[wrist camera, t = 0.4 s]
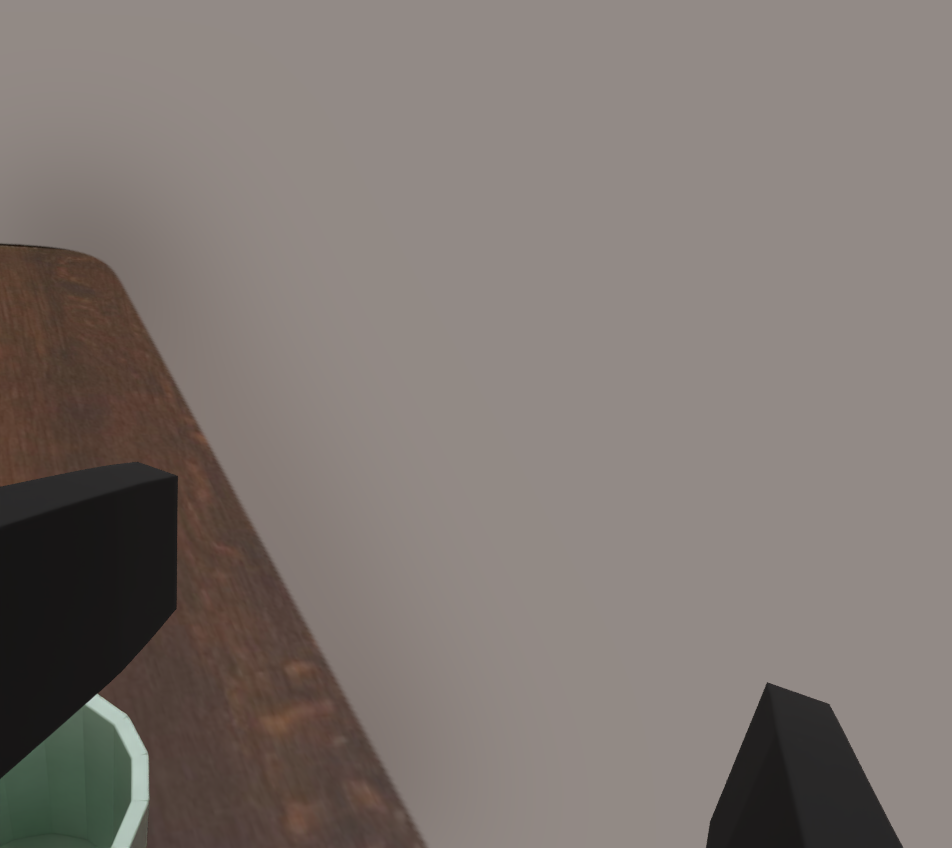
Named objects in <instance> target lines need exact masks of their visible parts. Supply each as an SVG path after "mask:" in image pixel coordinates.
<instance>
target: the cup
mask: <svg viewBox="0 0 952 848" xmlns="http://www.w3.org/2000/svg"><path fill="white" fill-rule="evenodd" d="M148 814H149V755H148V752H147V750H146V748H145V746H144V744H143V742H142V740H141V738H140V736H139V735H138V733H137V731H136V729H135V727H134V725H133V723H132V721H131V719H130V718H129V717H128V716H127V715H126V714H125V713H124V712H122V711H121V710H119V709H118V708H117V707H115V706H114V705H112V704H111V703H109V702H108V701H107V700H105V699H104V698H102V697H101V696H99V695H98V694H96V695H95V696H94V697H93V698H92V699H91V700H90V701H88V702H87V703H86V704H85V705H84V706H83V707H82V708H81V709H80V710H78V711H77V712H76V713H75V714H74V715H73V716H72V717H71V718H69V719H68V720H67V721H66V722H65V723H64V724H63V725H61V726H60V727H59V728H58V729H57V730H56V731H55V732H53V733H52V734H51V735H50V736H49V737H48V738H47V739H45V740H44V741H43V742H42V743H41V744H40V745H39V746H37V747H36V748H35V749H34V750H33V751H32V752H31V753H29V754H28V755H27V756H26V757H25V758H24V759H23V760H21V761H20V762H19V763H18V764H17V765H16V766H15V767H13V768H12V769H11V770H10V771H9V772H8V773H7V774H5V775H4V776H3V777H2V778H1V779H0V848H147V831H148Z"/></svg>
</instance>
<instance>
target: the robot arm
mask: <svg viewBox="0 0 952 848" xmlns="http://www.w3.org/2000/svg"><path fill="white" fill-rule="evenodd" d="M177 493H178V476H176V475H174V474H171V473H168V472H165V471H162V470H159V469H156V468H154V467H151V466H148V465H145V464H142V463H139V462H132V463H124V464H115V465H109V466H102V467H97V468H91V469H85V470H80V471H75V472H70V473H65V474H60V475H55V476H50V477H45V478H40V479H36V480H31V481H26V482H21V483H17V484H12V485H7V486H2V487H0V779H1V778H2V777H3V776H4V775H5V774H7V773H8V772H9V771H10V770H11V769H12V768H13V767H15V766H16V765H17V764H18V763H19V762H20V761H21V760H23V759H24V758H25V757H26V756H27V755H28V754H29V753H31V752H32V751H33V750H34V749H35V748H36V747H37V746H39V745H40V744H41V743H42V742H43V741H44V740H45V739H47V738H48V737H49V736H50V735H51V734H52V733H53V732H55V731H56V730H57V729H58V728H59V727H60V726H61V725H63V724H64V723H65V722H66V721H67V720H68V719H69V718H71V717H72V716H73V715H74V714H75V713H76V712H77V711H78V710H80V709H81V708H82V707H83V706H84V705H85V704H86V703H87V702H88V701H90V700H91V699H92V698H93V697H94V696H95V695H96V694H97V693H99V692H100V691H101V690H102V689H103V688H104V687H105V686H106V685H107V684H109V683H110V682H111V681H112V680H113V679H114V678H115V677H116V676H117V675H118V674H119V673H121V672H122V670H123V669H124V668H125V667H126V666H127V665H128V664H129V663H130V662H131V661H132V659H133V658H134V657H135V656H136V655H137V654H138V653H139V652H140V651H141V650H142V649H143V647H144V646H145V645H146V644H147V643H148V642H149V641H150V639H151V638H152V637H153V636H154V635H155V634H156V632H157V631H158V630H159V629H160V628H161V626H162V625H163V624H164V623H165V622H166V620H167V619H168V618H169V617H170V616H171V614H172V613H173V612H174V611H175V610H176V600H177ZM706 848H903V846H902V844H901V843H900V841H899V839H898V837H897V835H896V833H895V831H894V829H893V827H892V826H891V824H890V822H889V820H888V818H887V816H886V814H885V812H884V810H883V808H882V806H881V804H880V803H879V801H878V799H877V797H876V795H875V793H874V791H873V789H872V787H871V785H870V783H869V781H868V779H867V777H866V775H865V773H864V771H863V769H862V767H861V765H860V764H859V761H858V759H857V757H856V755H855V753H854V751H853V749H852V747H851V745H850V743H849V741H848V739H847V737H846V735H845V733H844V731H843V729H842V727H841V726H840V724H839V722H838V720H837V718H836V716H835V714H834V712H833V710H832V708H831V707H830V705H829V704H827V703H825V702H822V701H819V700H816V699H813V698H810V697H807V696H805V695H802V694H799V693H796V692H793V691H790V690H787V689H784V688H782V687H779V686H776V685H773V684H770V683H767V684H766V687H765V689H764V692H763V694H762V696H761V699H760V701H759V704H758V706H757V709H756V711H755V714H754V716H753V718H752V721H751V723H750V726H749V728H748V731H747V733H746V735H745V738H744V741H743V743H742V745H741V748H740V750H739V753H738V755H737V757H736V760H735V762H734V765H733V767H732V770H731V772H730V774H729V777H728V780H727V782H726V784H725V787H724V789H723V792H722V794H721V797H720V799H719V801H718V804H717V806H716V809H715V811H714V813H713V817H712V818H711V821H710V826H709V833H708V839H707V845H706Z"/></svg>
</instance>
